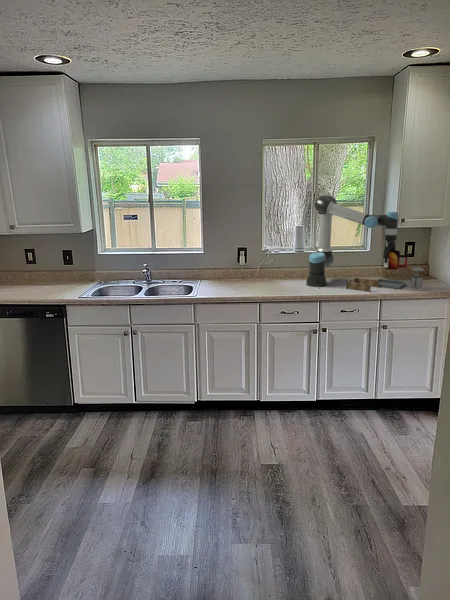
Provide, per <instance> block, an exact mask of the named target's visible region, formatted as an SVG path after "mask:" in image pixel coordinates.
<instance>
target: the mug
mask: <svg viewBox="0 0 450 600" xmlns="http://www.w3.org/2000/svg"><path fill="white" fill-rule="evenodd" d="M388 258H389V261H388V268H386V267H384V266H383V268H384V269H385V270H399V269H400V268H404V269H407V265H408V255H407V254H401V251H400V250H394V252H391V250H390V252H389V257H388ZM401 258H405V259H404V260H405V261H404V264H402V265H401V264H400V259H401Z"/></svg>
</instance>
